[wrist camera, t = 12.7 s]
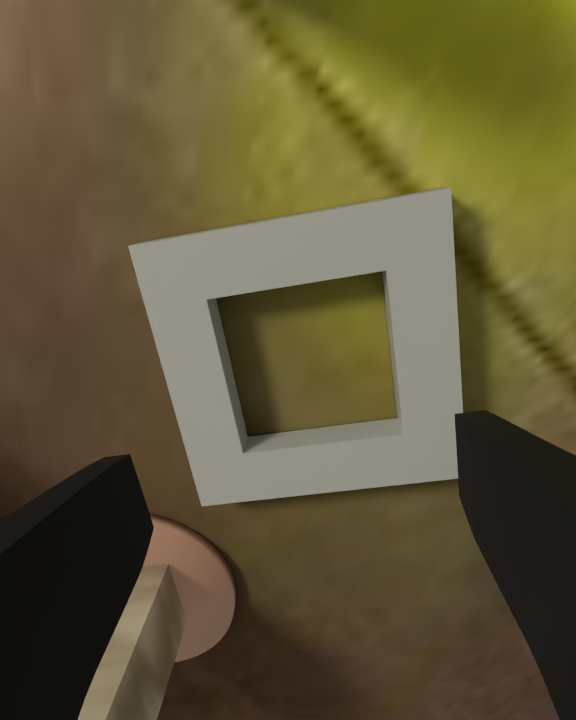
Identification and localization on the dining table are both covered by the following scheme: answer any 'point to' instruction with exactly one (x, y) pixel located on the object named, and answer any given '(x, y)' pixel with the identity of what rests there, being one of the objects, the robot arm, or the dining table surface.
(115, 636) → the maple block
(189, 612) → the pink disc
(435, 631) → the dining table surface
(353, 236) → the grey square frame
